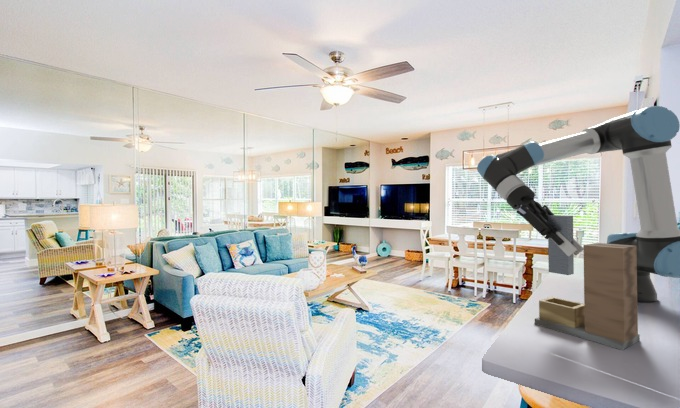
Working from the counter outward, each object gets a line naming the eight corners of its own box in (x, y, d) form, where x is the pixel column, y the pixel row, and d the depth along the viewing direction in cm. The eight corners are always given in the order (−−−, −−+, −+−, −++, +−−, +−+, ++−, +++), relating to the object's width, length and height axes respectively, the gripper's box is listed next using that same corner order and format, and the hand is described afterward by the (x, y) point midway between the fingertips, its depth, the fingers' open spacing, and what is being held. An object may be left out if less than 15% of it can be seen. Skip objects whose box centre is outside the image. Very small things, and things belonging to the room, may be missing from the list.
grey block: (554, 270, 95) (553, 215, 95) (573, 273, 90) (573, 215, 90) (548, 272, 93) (548, 215, 93) (568, 275, 89) (567, 216, 89)
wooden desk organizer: (553, 317, 99) (552, 238, 99) (639, 340, 81) (638, 245, 81) (534, 323, 93) (533, 241, 94) (622, 350, 76) (620, 248, 76)
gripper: (522, 201, 109) (580, 258, 95) (492, 201, 101) (550, 264, 87) (538, 184, 105) (601, 241, 90) (508, 183, 96) (572, 246, 82)
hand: (576, 252), depth 89 cm, fingers closed on grey block, 3 cm apart
